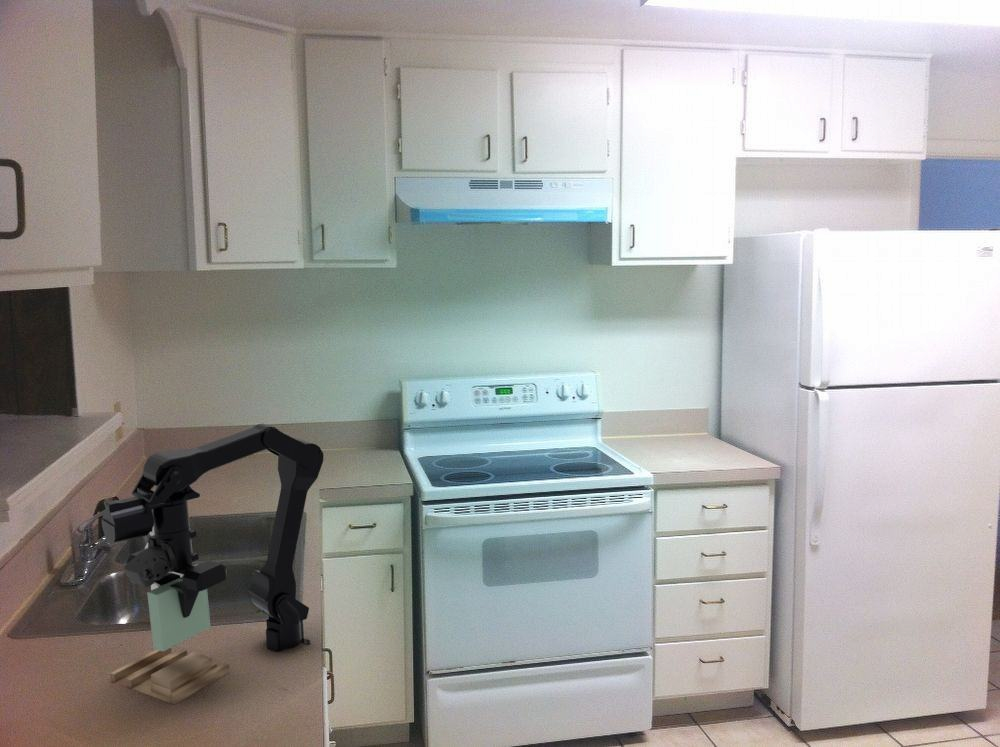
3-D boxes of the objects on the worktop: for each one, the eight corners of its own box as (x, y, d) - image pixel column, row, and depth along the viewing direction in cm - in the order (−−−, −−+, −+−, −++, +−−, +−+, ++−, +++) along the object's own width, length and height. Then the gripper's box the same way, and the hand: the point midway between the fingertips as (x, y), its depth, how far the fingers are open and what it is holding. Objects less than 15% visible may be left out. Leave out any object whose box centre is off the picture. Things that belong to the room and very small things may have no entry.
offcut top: (193, 659, 160) (193, 651, 159) (212, 665, 157) (211, 657, 157) (151, 682, 152) (150, 674, 152) (170, 689, 150) (169, 681, 150)
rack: (168, 656, 166) (167, 643, 166) (230, 676, 158) (229, 663, 158) (111, 686, 156) (110, 673, 156) (174, 709, 148) (173, 695, 148)
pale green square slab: (201, 624, 159) (195, 570, 158) (210, 627, 158) (205, 573, 156) (153, 648, 151) (147, 592, 149) (163, 651, 150) (157, 595, 148)
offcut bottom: (197, 665, 161) (196, 657, 161) (217, 671, 158) (216, 663, 158) (150, 691, 152) (150, 682, 152) (171, 698, 150) (170, 690, 150)
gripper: (94, 534, 149) (104, 622, 152) (169, 553, 139) (178, 647, 142) (151, 514, 158) (159, 597, 161) (225, 531, 149) (233, 619, 152)
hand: (180, 615), depth 154 cm, fingers closed on pale green square slab, 2 cm apart
